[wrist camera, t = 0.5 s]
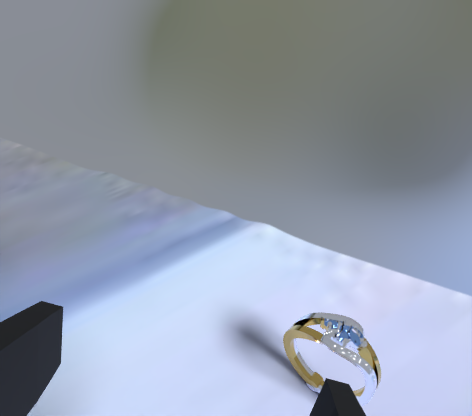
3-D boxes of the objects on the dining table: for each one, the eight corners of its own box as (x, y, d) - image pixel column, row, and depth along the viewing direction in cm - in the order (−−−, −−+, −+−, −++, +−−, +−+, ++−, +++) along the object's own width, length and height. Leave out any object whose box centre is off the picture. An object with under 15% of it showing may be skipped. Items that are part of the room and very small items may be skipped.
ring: (266, 365, 28) (292, 307, 23) (289, 341, 30) (317, 283, 25) (340, 437, 25) (388, 387, 20) (360, 404, 27) (408, 351, 22)
